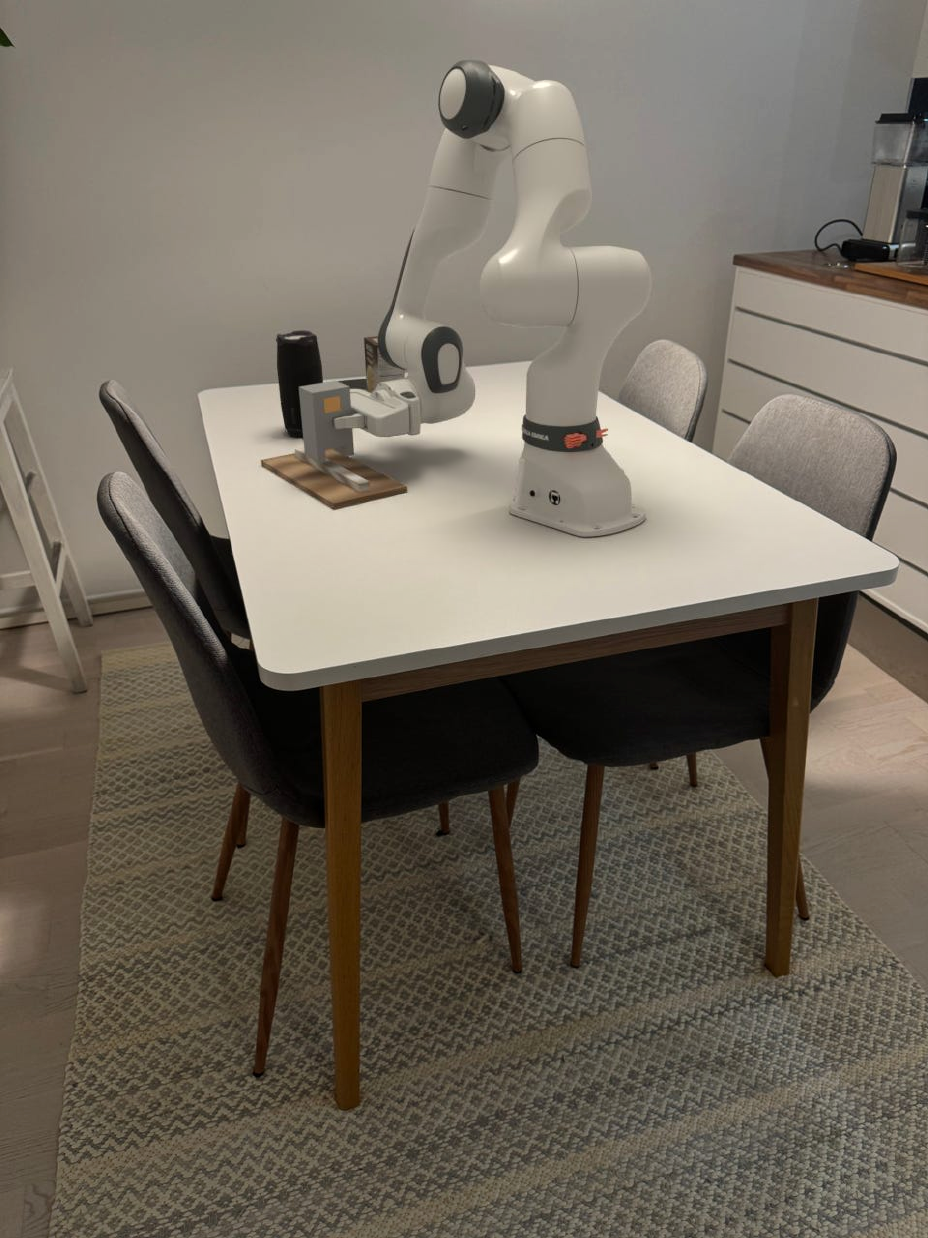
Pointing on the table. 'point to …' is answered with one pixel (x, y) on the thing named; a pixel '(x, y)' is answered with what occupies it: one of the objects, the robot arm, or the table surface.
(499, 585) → the table surface
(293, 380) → the portable speaker
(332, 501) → the rail
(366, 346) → the coffee box
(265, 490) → the table surface
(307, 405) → the block
